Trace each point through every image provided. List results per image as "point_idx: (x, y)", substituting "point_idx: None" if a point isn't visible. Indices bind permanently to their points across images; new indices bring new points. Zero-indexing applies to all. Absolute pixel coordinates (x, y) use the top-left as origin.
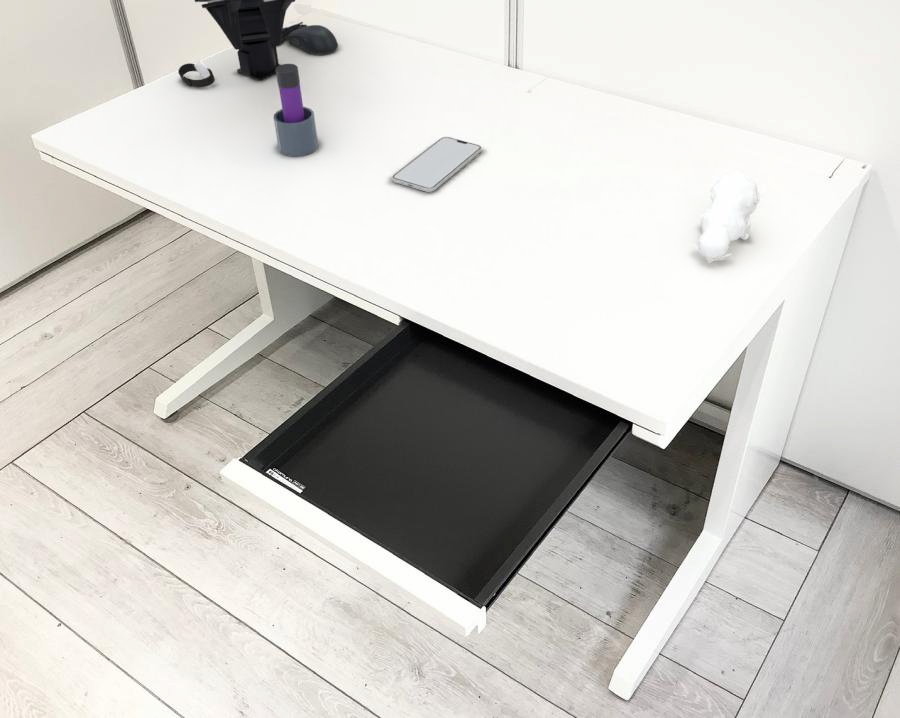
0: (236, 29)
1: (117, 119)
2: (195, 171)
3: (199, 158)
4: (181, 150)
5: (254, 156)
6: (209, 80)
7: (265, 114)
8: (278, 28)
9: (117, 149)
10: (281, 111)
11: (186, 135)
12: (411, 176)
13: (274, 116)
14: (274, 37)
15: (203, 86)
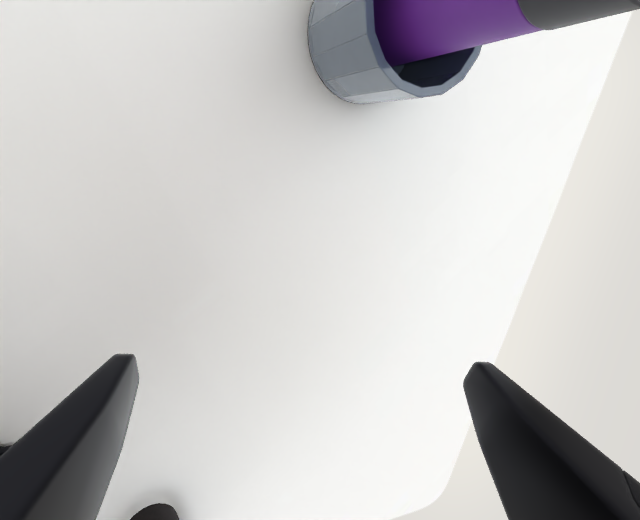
0: (589, 451)
1: (366, 482)
2: (492, 218)
3: (453, 247)
4: (434, 301)
5: (426, 138)
6: (157, 515)
7: (224, 264)
8: (71, 455)
9: (450, 390)
10: (411, 84)
11: (383, 341)
12: None
13: (453, 83)
14: (119, 420)
15: (171, 507)
